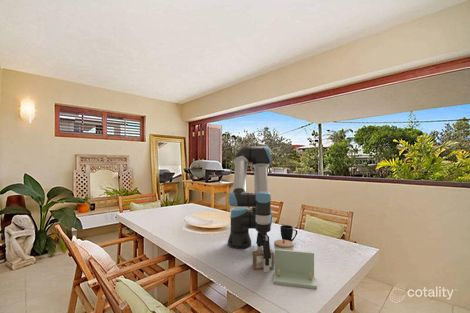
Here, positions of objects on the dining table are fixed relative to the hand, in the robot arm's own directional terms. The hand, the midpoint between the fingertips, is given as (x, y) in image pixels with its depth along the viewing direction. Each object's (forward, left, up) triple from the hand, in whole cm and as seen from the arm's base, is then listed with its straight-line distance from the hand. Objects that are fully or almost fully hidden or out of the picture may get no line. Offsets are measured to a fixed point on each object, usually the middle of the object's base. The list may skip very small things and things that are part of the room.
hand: (263, 265), depth 115 cm
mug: (+13, +41, -2) cm, 43 cm away
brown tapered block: (0, 0, -1) cm, 1 cm away
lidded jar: (+10, +16, -2) cm, 19 cm away
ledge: (+15, -8, -1) cm, 17 cm away
